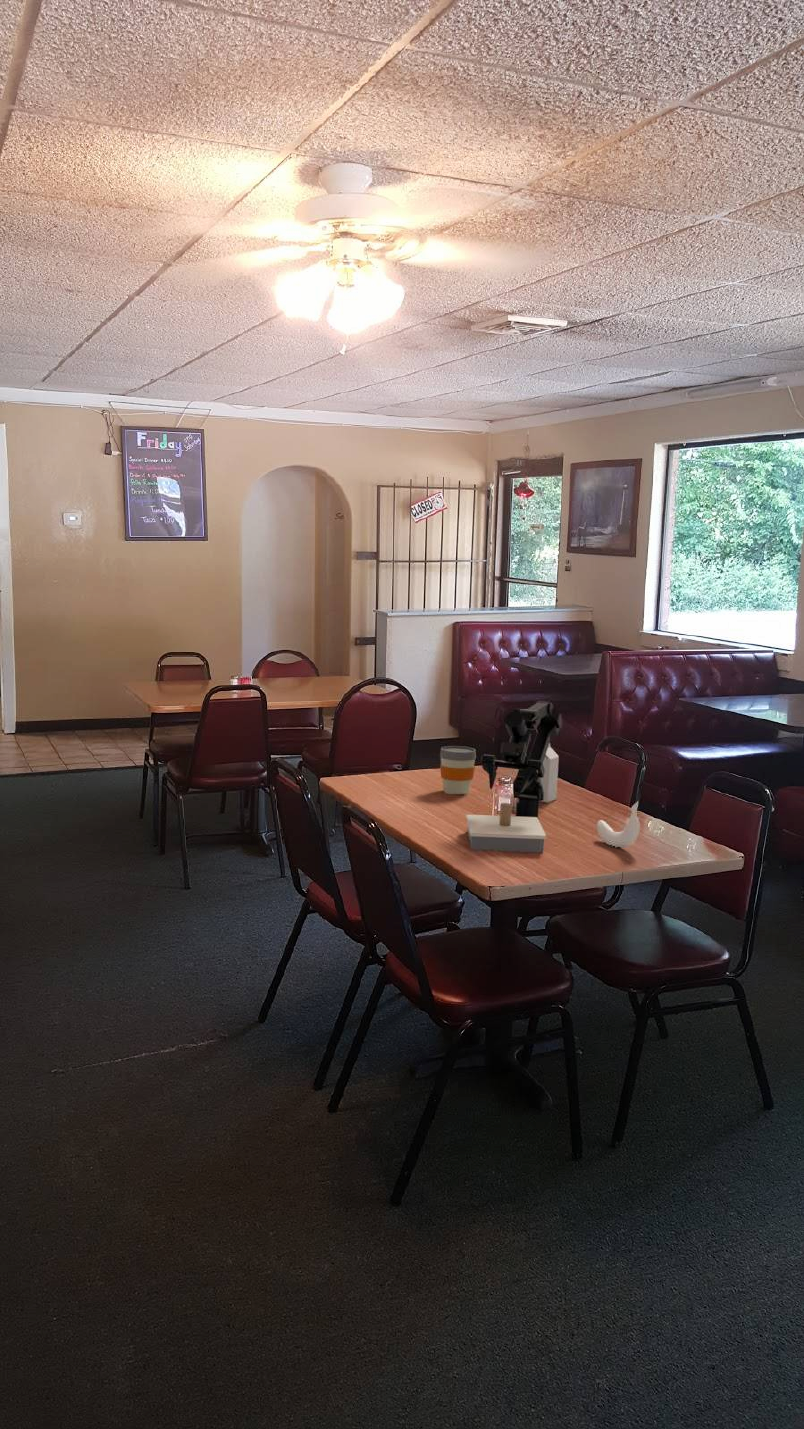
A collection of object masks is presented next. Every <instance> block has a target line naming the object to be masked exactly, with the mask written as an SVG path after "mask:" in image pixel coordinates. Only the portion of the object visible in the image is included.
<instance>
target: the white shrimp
mask: <svg viewBox="0 0 804 1429" xmlns="http://www.w3.org/2000/svg"><path fill="white" fill-rule="evenodd" d="M638 806H639V801H636V803H634V804H633V805H632V806H631V814H630V815H629V816H630V817H628V818H629V819H628V821H627V823H626V825H625V828H624V829H623V830H621V831H615V830H614V829H613V828H612V827H611V826H610V825H609V824H608V823H607V822H606V821H604V820H602V819H600V820H598V821H597V824H596V825H597V826H596V830H597V833H598V835H599V836H600V838H601V839H602V840H603V842H605V844H607V845H608V846H610V845H612V846H611V847H613V846H615V847H614V848H617V847H621V849H622V848H627V847H629V846H632V844H633V843H634V842H635V841H636V839H637V838H638V836H639V833H640V829H641V823H640V820H639V818H638V815H637V812H638Z"/></svg>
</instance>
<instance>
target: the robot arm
mask: <svg viewBox="0 0 804 1429" xmlns="http://www.w3.org/2000/svg"><path fill="white" fill-rule="evenodd" d="M503 720H504V721H503V723H504V724H505V727H506V730H507V733H508V735H509V736H510V738H509V742H506V741H503V742H501V747H500V754H502V755H501V756H502V759H504V760H500V759H499V760H498V759H497V757H496V755H493V754H483V755H481V757H480V759H479V762H480V765H481V767H482V770H483V771H484V772H486V773H487V774H488V780H489V789H490V790H492V789H493V787H494V784H495V781H496V778H497V771H498V768H503V769H504V768H505V769H511V770H518V771H517V774H516V775H515V778H514V779H513V782H512V793H513V798H514V799H517V801H515V810H514V811H515V813H514V814H515V816H518V817H537V818H538V820H539V807H540V806H539V802H541V801H542V800H544V790H543V787H542V783H541V779H540V778H543V777H544V773H545V769H544V766H543V761H544V758H545V755H546V752H547V749H548V745H549V744H550V742H551V740H552V739H554V738H555V737H557V736H558V734H559V732H560V729H562V727H563V717H562V714H561V712H560V711H559V710H558V709H556V708H555V707H554V704H553V703H552V702H550V701H543V700H539V701H536V702H535V704H533V705H531V706H530V707H528V708H524V709H523V708H514V709H513V711H511V712H508V713H507V714H506V716H504V719H503ZM530 730H533V731H534V730H535V731H536V735H535V738H534V741H533V744H532V747H531V750H530V753H529V756H528V759H527V763H526V762H525V758H527V754H528V753H527V751H528V748H529V745H530V742H531V737H532V733H531V732H530ZM524 762H525V763H524ZM539 821H540V820H539Z"/></svg>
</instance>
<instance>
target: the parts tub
mask: <svg viewBox="0 0 804 1429" xmlns="http://www.w3.org/2000/svg"><path fill="white" fill-rule="evenodd" d="M467 835H468V840H470V841H469V845H470V849H471V850H472V851H490V850H500V851H499V852H515V851H518V853H519V851H520V853H521V852H522V853H540V852H543V853H544V843H545V842H544V841H545V839H527V838H502V837H477V836H470V832H469V827H468V826H467Z"/></svg>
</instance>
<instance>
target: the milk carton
mask: <svg viewBox="0 0 804 1429" xmlns="http://www.w3.org/2000/svg"><path fill="white" fill-rule="evenodd" d="M559 756H560V755H558V754H557V752H555V750H554V748H552V747H551V743H549V745H548V749H547V752H546V755H545V758H544V761H543V766H544V769H545V773H544V777H543V778H540V779H541V783H542V787H543V790H544V800H542V801H540V802H542V803H546V804H547V803H550V802H553V801H555V800H557V792H558V791H557V790H558V774H559V759H560V758H559Z"/></svg>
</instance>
